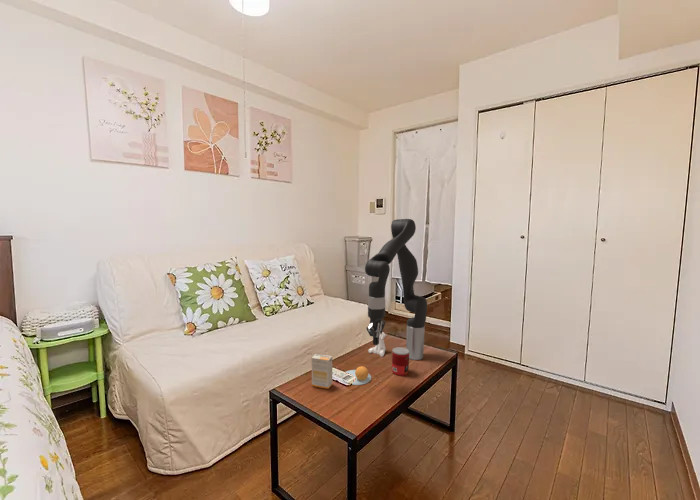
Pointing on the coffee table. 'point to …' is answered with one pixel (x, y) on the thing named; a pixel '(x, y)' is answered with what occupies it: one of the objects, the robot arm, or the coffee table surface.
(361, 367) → the ball
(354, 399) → the coffee table surface
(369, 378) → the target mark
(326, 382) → the supplement box
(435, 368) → the coffee table surface
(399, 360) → the canned food
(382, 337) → the seated beast figurine
